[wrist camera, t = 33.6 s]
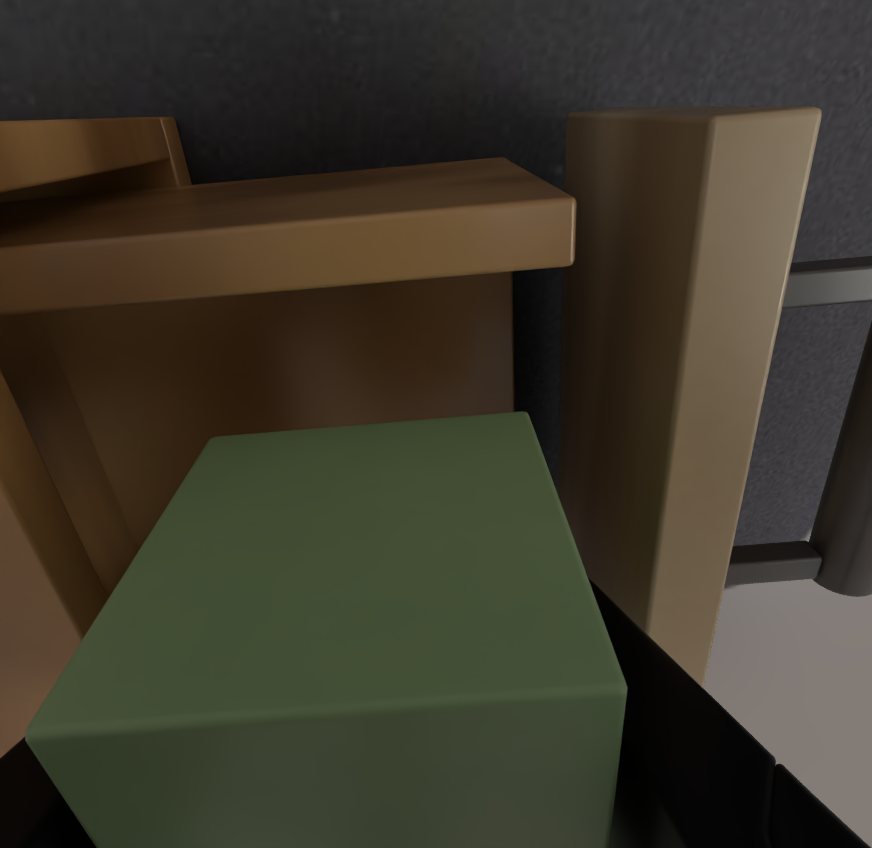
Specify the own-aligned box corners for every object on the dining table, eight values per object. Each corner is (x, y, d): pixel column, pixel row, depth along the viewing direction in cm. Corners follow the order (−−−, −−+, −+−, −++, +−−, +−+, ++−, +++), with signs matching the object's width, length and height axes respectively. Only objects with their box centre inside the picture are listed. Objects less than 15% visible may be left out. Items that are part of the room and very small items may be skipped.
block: (529, 635, 10) (599, 964, 6) (276, 655, 10) (187, 993, 6) (528, 408, 8) (632, 690, 4) (209, 434, 8) (15, 736, 4)
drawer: (854, 86, 12) (1290, 63, 6) (754, 528, 17) (931, 747, 11) (-23, 166, 12) (-445, 220, 6) (148, 576, 18) (9, 816, 12)
